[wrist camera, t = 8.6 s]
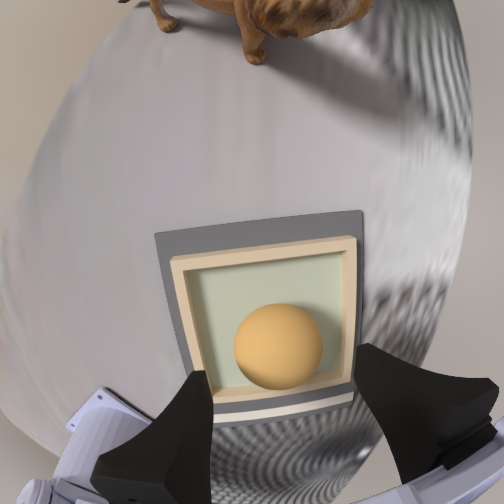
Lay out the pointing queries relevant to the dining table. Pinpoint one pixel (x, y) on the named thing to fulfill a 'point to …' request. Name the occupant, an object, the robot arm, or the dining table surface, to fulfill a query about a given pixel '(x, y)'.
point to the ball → (278, 346)
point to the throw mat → (264, 293)
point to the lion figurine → (275, 18)
